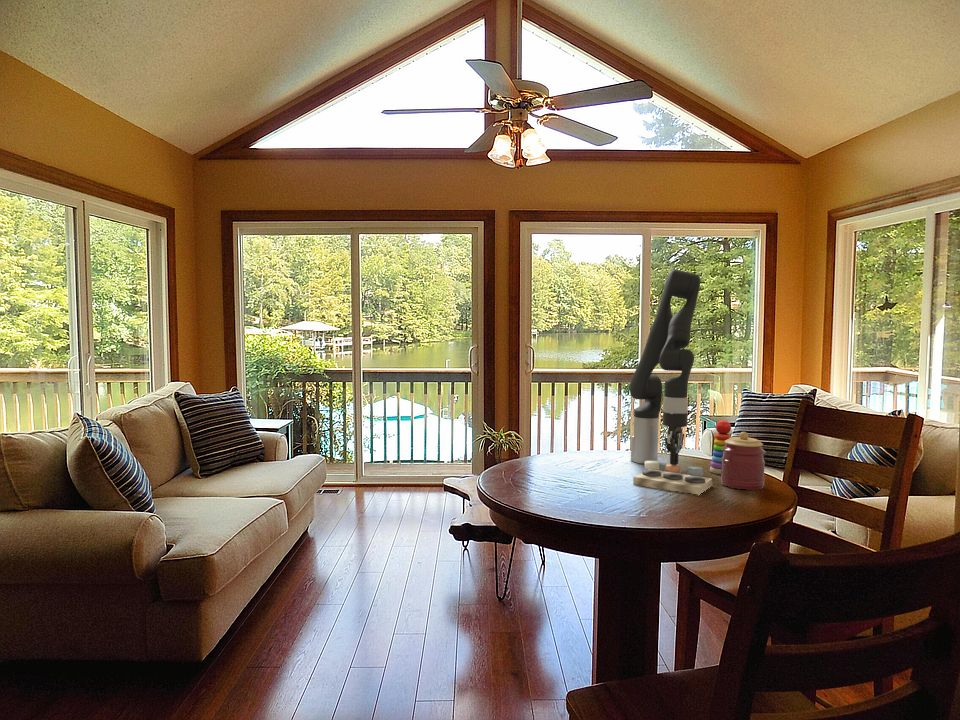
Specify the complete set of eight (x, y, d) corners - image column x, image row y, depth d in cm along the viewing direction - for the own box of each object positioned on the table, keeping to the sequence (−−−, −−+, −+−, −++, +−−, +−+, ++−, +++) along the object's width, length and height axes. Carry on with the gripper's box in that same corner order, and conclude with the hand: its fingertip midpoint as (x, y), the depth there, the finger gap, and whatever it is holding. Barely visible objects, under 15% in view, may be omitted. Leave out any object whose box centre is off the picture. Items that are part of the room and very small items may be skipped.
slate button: (685, 474, 185) (685, 468, 185) (689, 472, 189) (690, 466, 188) (700, 477, 182) (700, 470, 182) (704, 474, 186) (704, 468, 186)
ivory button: (642, 468, 193) (642, 462, 193) (647, 465, 197) (647, 460, 197) (656, 470, 190) (656, 464, 190) (661, 467, 194) (661, 461, 194)
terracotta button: (663, 471, 189) (663, 465, 189) (668, 468, 193) (668, 462, 193) (677, 473, 186) (678, 467, 186) (682, 471, 190) (682, 464, 190)
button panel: (633, 484, 190) (633, 474, 190) (648, 476, 202) (648, 466, 201) (699, 495, 178) (700, 484, 178) (712, 486, 189) (712, 476, 189)
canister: (745, 480, 198) (746, 428, 198) (773, 489, 186) (775, 434, 185) (712, 482, 195) (713, 429, 194) (738, 492, 182) (740, 435, 182)
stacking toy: (737, 475, 204) (739, 422, 204) (714, 475, 204) (716, 421, 204) (728, 470, 212) (730, 418, 211) (706, 470, 212) (707, 418, 212)
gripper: (670, 408, 196) (669, 459, 197) (656, 412, 185) (655, 466, 186) (693, 410, 192) (691, 462, 192) (680, 414, 181) (679, 469, 182)
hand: (674, 464), depth 189 cm, fingers closed
